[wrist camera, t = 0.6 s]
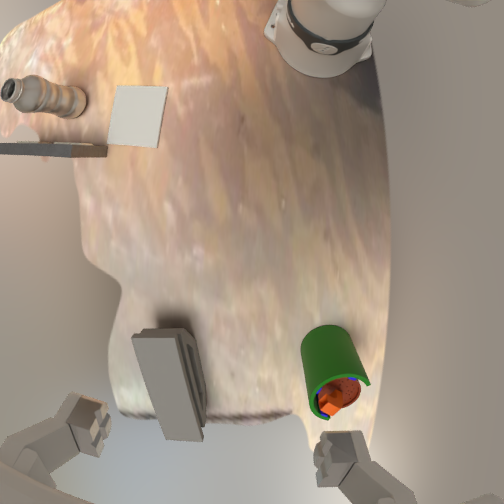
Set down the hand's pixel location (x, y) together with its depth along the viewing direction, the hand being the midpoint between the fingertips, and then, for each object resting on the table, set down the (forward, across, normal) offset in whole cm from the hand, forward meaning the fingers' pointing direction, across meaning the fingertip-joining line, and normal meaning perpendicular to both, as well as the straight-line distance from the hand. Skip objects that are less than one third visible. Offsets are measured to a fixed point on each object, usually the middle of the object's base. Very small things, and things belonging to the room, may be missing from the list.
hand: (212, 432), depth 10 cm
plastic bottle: (+49, +35, -16) cm, 62 cm away
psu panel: (+48, +35, -6) cm, 60 cm away
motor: (+44, -19, +25) cm, 54 cm away
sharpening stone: (+45, +9, +34) cm, 57 cm away
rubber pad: (+48, +21, -13) cm, 54 cm away
